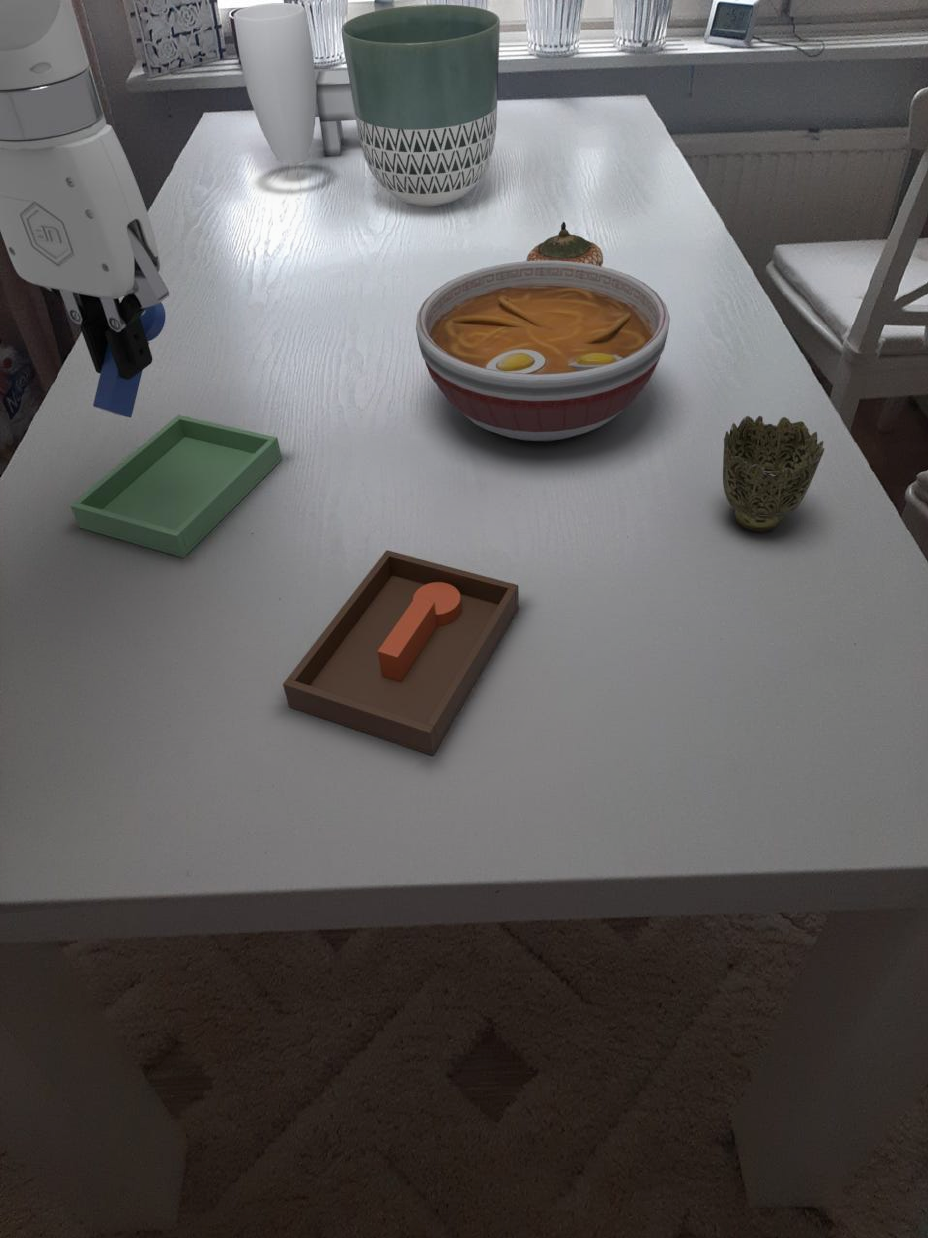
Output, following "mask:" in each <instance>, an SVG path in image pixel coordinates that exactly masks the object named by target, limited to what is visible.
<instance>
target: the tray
mask: <svg viewBox="0 0 928 1238" xmlns="http://www.w3.org/2000/svg"><path fill="white" fill-rule="evenodd" d="M434 582H443V583H448V584H450V585H452V586H454V587H455V588H456V589H457V590H458V591H459V593H460V596H461V612H460V614H459V616H458V617H457V618H456V619H455V620H454V621H452V622H450V623H448V624H445V625H440V626H437V628H436V629H435V631H434V632H433V634H432V635H431V637H430V638H429V640H428V641H427V643H426V644H425V646H424V647H423V649H422V650H421V652H420V654H419V655H418V657H417V658H416V660H415V661H414V663H413V664H412V666H411V667H410V669H409V670H408V672H407V673H406V675H405V676H404V678H403V679H402V681H401V682H400V681H397V680H393V679H390V678H387V677H384V676H382V675H381V669H380V663H379V657H378V650H379V648H380V647H381V645H382V644H383V643H384V641H385V640H386V638H387V637H388V635H389V634H390V633H391V631H392V630H393V628H394V627H395V625H396V624H397V623H398V621H399V620H400V618H401V617H402V615H403V614H404V613H405V611H406V610H407V608H408V607H409V606H410V604H411V603H412V601H413V596H414V594H415V592H416V591H417V590H418V589H419V588H420V587H422V586H424V585H426V584H429V583H434ZM519 590H520V589H519V585H518V584H515V583H512V582H507V581H504V580H500V579H496V578H492V577H489V576H485V575H482V574H478V573H474V572H470V571H466V570H463V569H459V568H455V567H451V566H447V565H444V564H440V563H437V562H433V561H428V560H426V559H420V558H417V557H414V556H410V555H406V554H402V553H399V552H396V551H392V550H385V551H384V553H383V554H382V555H381V556H380V558H379V559H378V561H376V563H375V564H374V565H373V567H372V568H371V569H370V571H369V572H368V573H367V575H366V576H365V577H364V578H363V580H362V581H361V582H360V583H359V584H358V586H357V587H356V589H355V590H354V591H353V593H352V594H351V595H350V597H349V598H348V599H347V600H346V602H345V603H344V604H343V605H342V607H341V608H340V610H338V612H337V613H336V615H335V616H334V617H333V619H331V621H330V622H329V624H327V626H326V627H325V629H324V630H323V631H322V633H321V634H320V635H319V637H318V638H317V639H316V641H315V642H314V643H313V644H312V646H311V647H310V648H309V650H308V651H307V652H306V654H305V655H304V656H303V658H302V659H301V660H300V661H299V663H298V664H297V665H296V666H295V668H294V669H293V670H292V671H291V673H290V674H289V676H288V677H287V678H286V679H285V681H284V682H283V683H282V687H283V691H284V693H285V696H286V701H287V704H288V705H287V706H288V707H289V708H290V709H294V710H297V711H301V712H303V713H306V714H310V715H312V716H315V717H317V718H321V719H324V720H327V721H330V722H333V723H336V724H338V725H342V726H345V727H346V728H350V729H354V730H356V731H359V732H363V733H365V734H368V735H371V736H373V737H377V738H380V739H383V740H386V741H388V742H391V743H394V744H397V745H400V746H404V747H407V748H409V749H411V750H415V751H418V752H420V753H424V754H426V755H429V756H434V754H435V753H436V751H437V749H438V748H439V746H440V744H441V742H442V740H443V739H444V737H445V735H446V734H447V732H448V730H449V729H450V727H451V725H452V723H453V722H454V720H455V718H456V717H457V715H458V713H459V711H460V710H461V708H462V706H463V704H464V703H465V701H466V699H467V698H468V696H469V694H470V692H471V691H472V689H473V688H474V685H475V684H476V682H477V680H478V679H479V677H480V675H481V673H482V672H483V670H484V669H485V667H486V665H487V663H488V662H489V660H490V658H491V656H492V655H493V653H494V651H495V649H496V648H497V646H498V644H499V643H500V641H501V639H502V637H503V636H504V634H505V633H506V631H507V629H508V627H509V626H510V624H511V622H512V620H513V618H514V617H515V615H516V614H517V612H518V611H519V608H520V603H519V601H520V600H519V599H520V597H519V593H520V592H519Z"/></svg>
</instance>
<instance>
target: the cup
mask: <svg viewBox="0 0 928 1238" xmlns="http://www.w3.org/2000/svg"><path fill="white" fill-rule="evenodd" d="M233 23H234V29H235V35H236V43H237V50H238V55H239V61H240V65H241V69H242V73H243V77H244V82H245V87H246V92H247V95H248V97H249V100H250V103H251V105H252V108H253V111H254V114H255V117H256V120H257V122H258V124H259V127H260V130H261V132H262V134H263V136H264V138H265V141H266V142H267V144H268V146H269V149H270V150H271V151H272V153H273V155H274V157H275V159H276V160H277V162H279V163H280V164H285V165H294V164H300V163H304V162H306V161H307V160H308V159H309V158H310V155H311V150H312V146H313V140H314V134H315V126H316V118H317V117H316V89H317V88H316V80H317V77H316V70H315V58H314V51H313V44H312V39H311V33H310V27H309V21H308V14H307V11H306V9H305V7H304V6H303V5H301V4H298V3H290V2H271V3H270V2H269V3H262V4H261V3H260V4H255V5H250V6H247V7H243V8H240V9H238V10H236V11H235V12H234V13H233Z"/></svg>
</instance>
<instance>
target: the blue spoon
mask: <svg viewBox="0 0 928 1238" xmlns="http://www.w3.org/2000/svg"><path fill="white" fill-rule="evenodd" d="M166 317H167V315H166V309H165V306H164V304H163V303H162V302H160V303H159V304H157V305H155V306H151V307H148V308H146V309H145V314H144V315H143V316H142V317H140V319H141V322H142V326H143V329H144V332H145V335H146V339H147V342H148V345H149V346H150V342H151V341H153V340H154V339H157V337H158V336H159V335H160V334H161V333H162V331H163V329H164V327H165V324H166ZM143 370H144V369H143ZM143 370H142V371H141V372H139V373H138V374H137V375H135V376H134V377H133V378H131V379H130V380H127V379H123V378H121V376H120V374H119V371H118V370H117V367H116V364H115V361H114V358H113V355H112V352H111V349H110V346H109V343H108V345H107V349H106V354H105V358H104V362H103V366H102V369H101V373H99V379H98V382H97V387H96V391H95V395H94V400H93V404H92V407H94V408H97V409H100V410H103V411H106V412H108V413H110V414H111V413H112V414H114V415H118V416H123V417H127V418H132V416H133V412H134V409H135V404H136V399H137V395H138V392H139V388H140V383H141V379H142V376H143V375H142V374H143V372H144V371H143Z"/></svg>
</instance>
